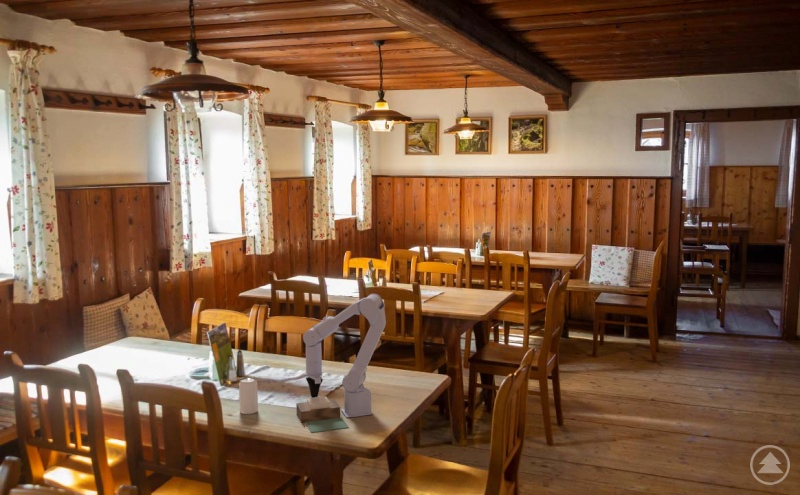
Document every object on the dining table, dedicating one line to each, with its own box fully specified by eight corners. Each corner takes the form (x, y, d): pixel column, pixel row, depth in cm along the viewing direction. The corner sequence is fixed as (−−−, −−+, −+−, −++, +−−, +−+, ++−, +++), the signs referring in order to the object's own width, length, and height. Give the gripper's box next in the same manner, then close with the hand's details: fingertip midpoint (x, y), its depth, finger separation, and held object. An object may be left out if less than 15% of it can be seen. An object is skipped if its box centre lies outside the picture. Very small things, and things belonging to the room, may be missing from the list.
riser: (334, 409, 246) (334, 398, 245) (340, 418, 237) (340, 407, 237) (296, 413, 241) (296, 403, 241) (301, 422, 233) (301, 411, 232)
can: (259, 408, 247) (258, 376, 246) (256, 414, 241) (255, 382, 239) (241, 408, 247) (240, 377, 245) (238, 415, 240) (237, 382, 239)
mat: (341, 418, 237) (341, 417, 237) (348, 427, 228) (348, 427, 228) (305, 422, 233) (305, 421, 233) (311, 432, 224) (311, 432, 224)
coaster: (326, 401, 242) (326, 396, 242) (329, 407, 237) (329, 401, 237) (307, 403, 240) (306, 398, 240) (310, 409, 234) (310, 404, 234)
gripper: (299, 356, 249) (299, 391, 250) (306, 367, 235) (307, 404, 237) (317, 354, 251) (318, 389, 253) (326, 365, 237) (326, 402, 239)
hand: (314, 396), depth 245 cm, fingers closed
